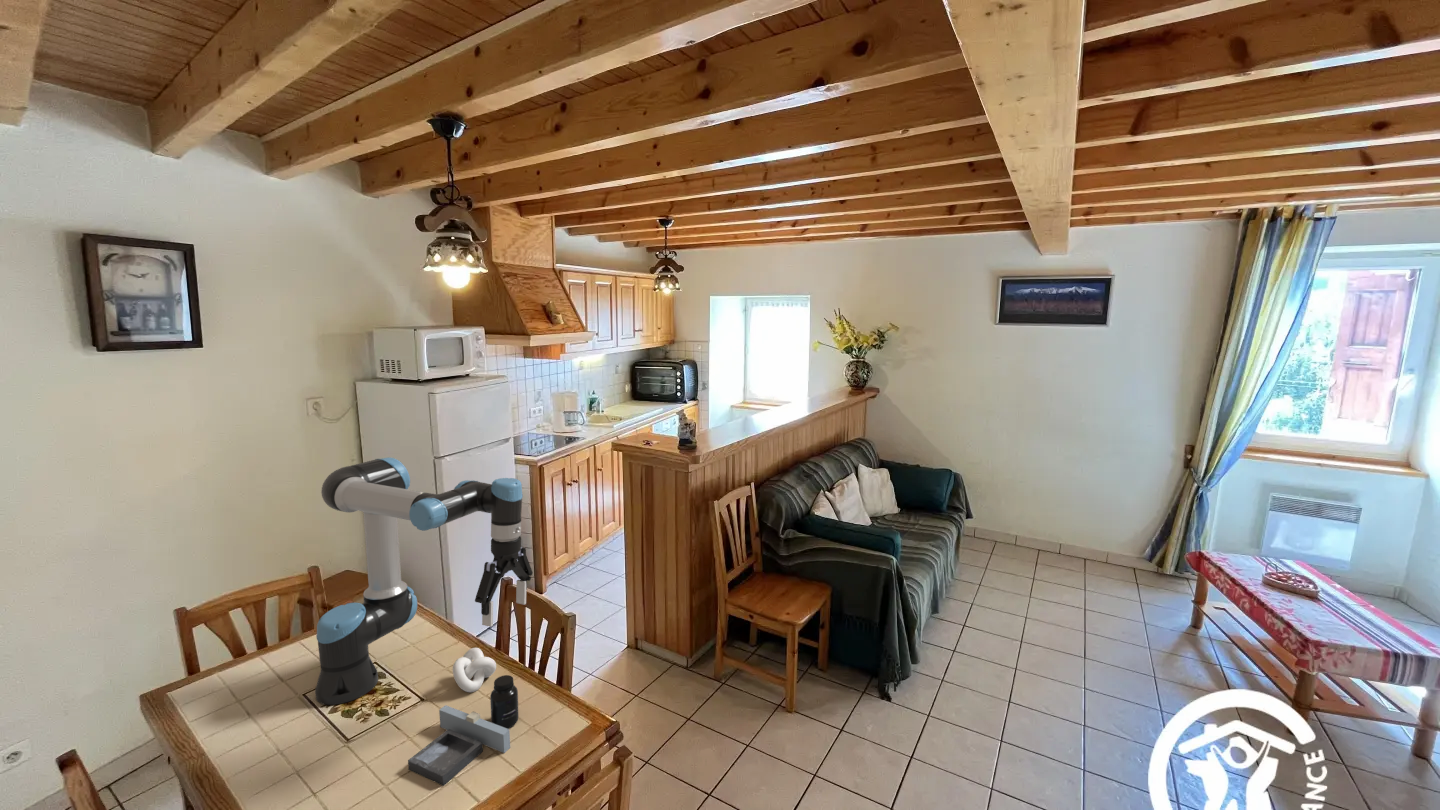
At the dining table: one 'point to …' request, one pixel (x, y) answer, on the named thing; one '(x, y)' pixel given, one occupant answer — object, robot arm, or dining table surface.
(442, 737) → the keeper frame
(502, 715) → the supplement bottle
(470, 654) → the white trefoil knot
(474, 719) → the door edge plank
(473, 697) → the dining table surface
